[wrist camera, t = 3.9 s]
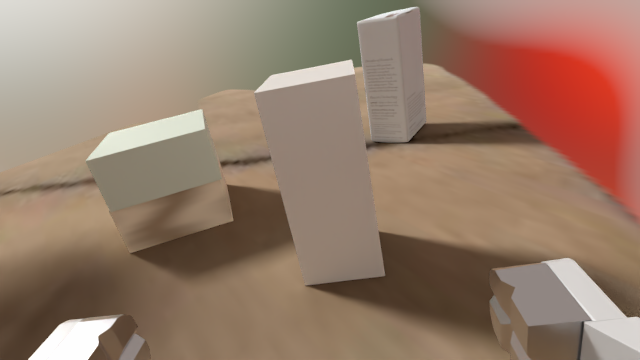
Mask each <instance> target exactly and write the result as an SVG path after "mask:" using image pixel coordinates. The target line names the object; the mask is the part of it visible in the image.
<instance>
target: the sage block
mask: <svg viewBox="0 0 640 360" xmlns="http://www.w3.org/2000/svg"><path fill="white" fill-rule="evenodd" d="M86 163H87V165H88V167H89V169H90V171H91V173H92V175H93V177H94V179H95V181H96V183H97V185H98V187H99V189H100V191H101V194H102V196H103V198H104V200H105V202H106V204H107V206H108V208H109V210H110V212H114V211H117V210H120V209H124V208H127V207H130V206H134V205H137V204H140V203H144V202H147V201H150V200H154V199H157V198H160V197H164V196H167V195H170V194H174V193H177V192H180V191H184V190H187V189H190V188H194V187H197V186H201V185H204V184H207V183H211V182H214V181H217V180H221V179H222V177H221V173H220V168H219V163H218V158H217V154H216V149H215V146H214V143H213V140H212V137H211V134H210V131H209V128H208V125H207V122H206V119H205V116H204V113H203V110H202V109H201V110H197V111H193V112H189V113H185V114H182V115H178V116H174V117H170V118H166V119H162V120H158V121H154V122H150V123H147V124H143V125H139V126H135V127H131V128H127V129H123V130H119V131H115V132H111V133H109V134H108V135H107V136H106V137H105V138H104V140H103V141H102V142H101V143H100V144H99V146H98V147H97V148H96V149H95V150H94V151H93V153H92V154H91V155H90V156H89V157H88V159H87V160H86Z"/></svg>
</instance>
